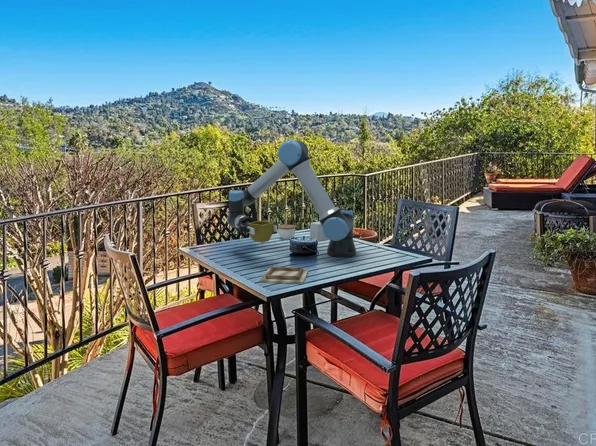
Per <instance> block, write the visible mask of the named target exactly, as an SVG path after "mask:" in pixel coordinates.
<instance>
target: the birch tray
mask: <svg viewBox="0 0 596 446" xmlns="http://www.w3.org/2000/svg"><path fill="white" fill-rule="evenodd" d="M307 273H308V274H309V269H304V267H296V266H295V267H294V266H293V267H291V266H271V267H270V268H268V269H267V270H266V271H265V272H264V274H263V275H262V277H260V279H259V283H261V284H262V283H264V284H284V283H290V284H289V285H304V283H305V280H306V278H307V276H306V275H308V274H307ZM303 282H304V283H303Z"/></svg>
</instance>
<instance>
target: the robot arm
mask: <svg viewBox="0 0 596 446" xmlns="http://www.w3.org/2000/svg"><path fill="white" fill-rule="evenodd" d="M277 157H278V161H277V162H275V163H274V164H273V165H272V166H270V168H268V169H267V170H266V171H265V172H264V173H263V174H262V175H260V176H259V177H258V178H257V179H256V180H255V181H254V182H252V183H251V184H250V185H249V186H248V187H246V189H244V191H243V190H240V189H239V190H237V189H236V190H235V189H234V190H230V191H228V209H229V211H228V212H229V214H228V215H227V216H226V217H227V218H226V223H227V224H228V225H229V226H230V227H232V228H234V229H236V230H238V231H239V233H240V234H241V233H243V234H244V235H247V233H248V234H249V235H250V234H253V235H255V230H254V228H251V227H249V224H248V223H252V222H256V220H254V218H253V217H250V216H247V215H245V208H246V207H249V206H251V205H252V204H254V203H255V201H256V200H257V199H258V198H259V197H260V196H261V195H263V194H264V193H265V192H267V190H269V188H271V187H272V186H273V185H274V184H275V183H277V181H279V180H280V179H281V178H282V177H284V176H285V175H286V174H287V173H288V172H289V173H291V174H294V175H295V176H296V178H297V180H298V182H299V184H300V185H301V187H302V189H303V191H305V194H306V195H307V197H308V198H309V200H310V202H311V204H312V205H313V207H314V209H315V210H316V212H317V214H318V216H319V218H318V221H320V223H321V225H322V227H323V233H324V235H325V236H326V237H327V238H328V239H327V240H329V243H328V246H327V248H326V249H327V250H326V254H327V256H330V257H336V258H350V257H354V256H356V255H357V248H356V245H355V242H354V218H355V217H354V212H353V210H343V209H342V210H341V208H340V207H336V205H334V203H333V201H332V200H331V198H330V196H329V194H328V193H327V191H326V189H325V187H324V186H323V185H322V183H321V181H320V180H319V178H318V176H317V175H316V173H315V171H314V169H313V168H312V166H311V158H310V157H309V148H308V146H307V144H306V143H305V142H303V141H302V140H293V139H290V140H289V139H288V140H286V141H284V142H282V143H281V144H280V146H279V147H278V150H277ZM275 224H276V223H275V222H274V226H273V232H276V233H278V225H275Z"/></svg>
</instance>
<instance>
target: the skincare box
mask: <svg viewBox="0 0 596 446" xmlns="http://www.w3.org/2000/svg"><path fill="white" fill-rule="evenodd" d="M309 230H310V231H309V239H310V238H312V239H316V240H318V241H317V242H320V241H321V242H322V241H324V240H329V239H328V238H327V237H326V236H325V235H324V233H323V227H322V225H321V223H320V221H319V220H318V221H313V222H310V228H309Z"/></svg>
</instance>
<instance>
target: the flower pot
mask: <svg viewBox="0 0 596 446" xmlns="http://www.w3.org/2000/svg"><path fill="white" fill-rule="evenodd" d="M274 223H275V222H273V221H265V220H258V221H257V220H255V222H252V223H248V224H249V227H251V228H254V230H255V235H253V234H250V233H249V235H250V238H251V239H252V240H253V242H255V243H262V244H263V243H266V242H267V243H268V242H270V240H271V238H272V236H273V232H274V231H273V226H274Z"/></svg>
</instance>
